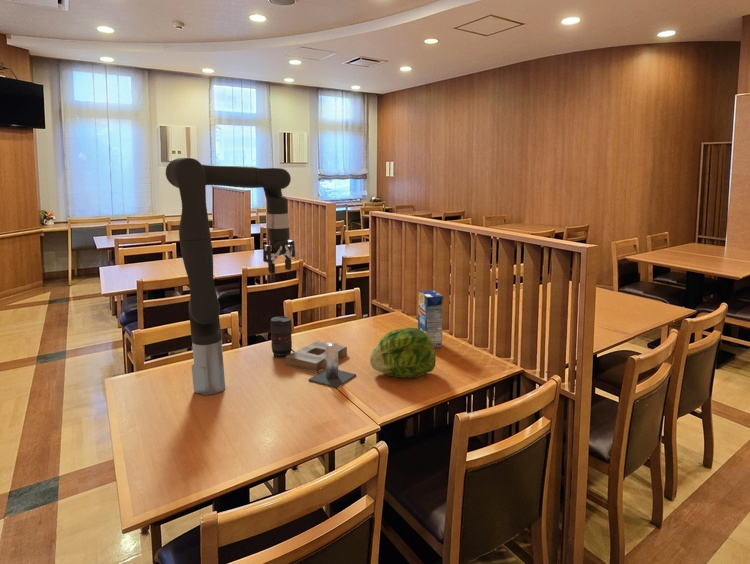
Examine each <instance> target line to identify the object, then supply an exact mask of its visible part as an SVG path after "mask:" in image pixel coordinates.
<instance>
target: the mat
mask: <svg viewBox="0 0 750 564" xmlns="http://www.w3.org/2000/svg"><path fill="white" fill-rule="evenodd" d="M338 376H339V377H338V378H337V379H327V378H326V368H324V369H322V370H321V371H320V372H319V373H318V372H317V373H316V374H315V375H313V376H311V377H309V378H308V381H309V382H312V383H316V384H320V385H322V384H323V386H326V385H327V386H326V387H331V388H334V389H338V388H339V386H340V385H341V386H343V385H345V383H348V382H349V381H351V380H352V379H354V378H355V377H357V374H356V373H352V372H348V371H345V370H341V369H338ZM341 386H340V387H341Z"/></svg>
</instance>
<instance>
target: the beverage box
mask: <svg viewBox="0 0 750 564" xmlns="http://www.w3.org/2000/svg"><path fill="white" fill-rule="evenodd" d="M417 303H418V307H417V308H418V309H417V310H418V312H417V329H419V330H422V331H424V332H425V333H426V334H427V335H429V337H430V339H431V341H432V343H433V346H434V348H435V349H442V348H443V322H444V296H443V295H442V294H441V293H439V292H438V291H437V290H435V289H428V290H427V289H426V290H418V302H417Z"/></svg>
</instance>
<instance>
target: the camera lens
mask: <svg viewBox="0 0 750 564" xmlns="http://www.w3.org/2000/svg"><path fill="white" fill-rule="evenodd" d="M292 331H293V330H292V319H291V317H289V316H282V315H281V316H274V317H272V318H271V319H270V333H271V336H270V341H271V350H272V351H271V352H272V353H273V357H274V358H276V357H277V358H278V359H286V356H287V355H289V354H292V351H293V350H292V349H293V348H292V347H293V341H292Z"/></svg>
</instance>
